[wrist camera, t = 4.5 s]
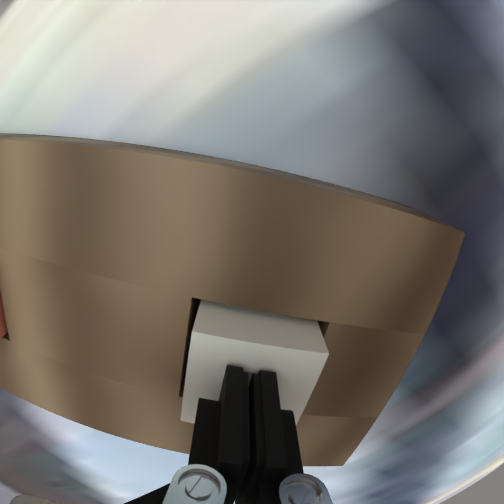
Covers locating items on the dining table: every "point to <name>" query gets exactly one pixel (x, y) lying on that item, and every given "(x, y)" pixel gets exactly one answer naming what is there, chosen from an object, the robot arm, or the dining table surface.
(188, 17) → the dining table surface
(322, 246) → the block
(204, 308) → the ivory cube
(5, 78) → the dining table surface
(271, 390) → the robot arm
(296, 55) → the dining table surface
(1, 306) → the salmon pink cube
